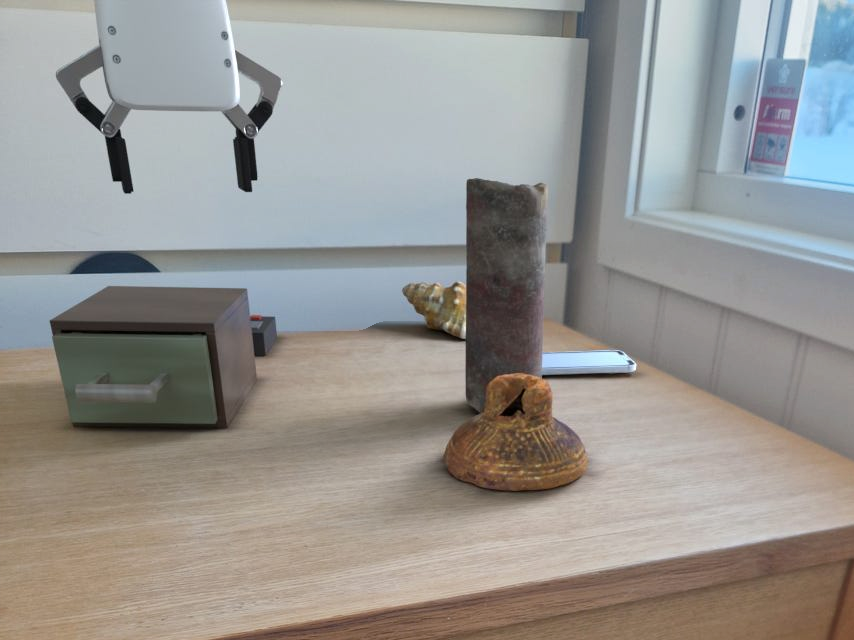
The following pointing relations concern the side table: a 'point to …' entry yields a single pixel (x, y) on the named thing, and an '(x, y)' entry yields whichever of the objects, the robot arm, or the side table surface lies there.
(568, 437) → the bell
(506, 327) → the candle
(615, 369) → the smartphone
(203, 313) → the cabinet
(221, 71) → the robot arm
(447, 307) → the seashell
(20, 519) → the side table surface
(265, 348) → the remote
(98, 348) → the drawer
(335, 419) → the side table surface
